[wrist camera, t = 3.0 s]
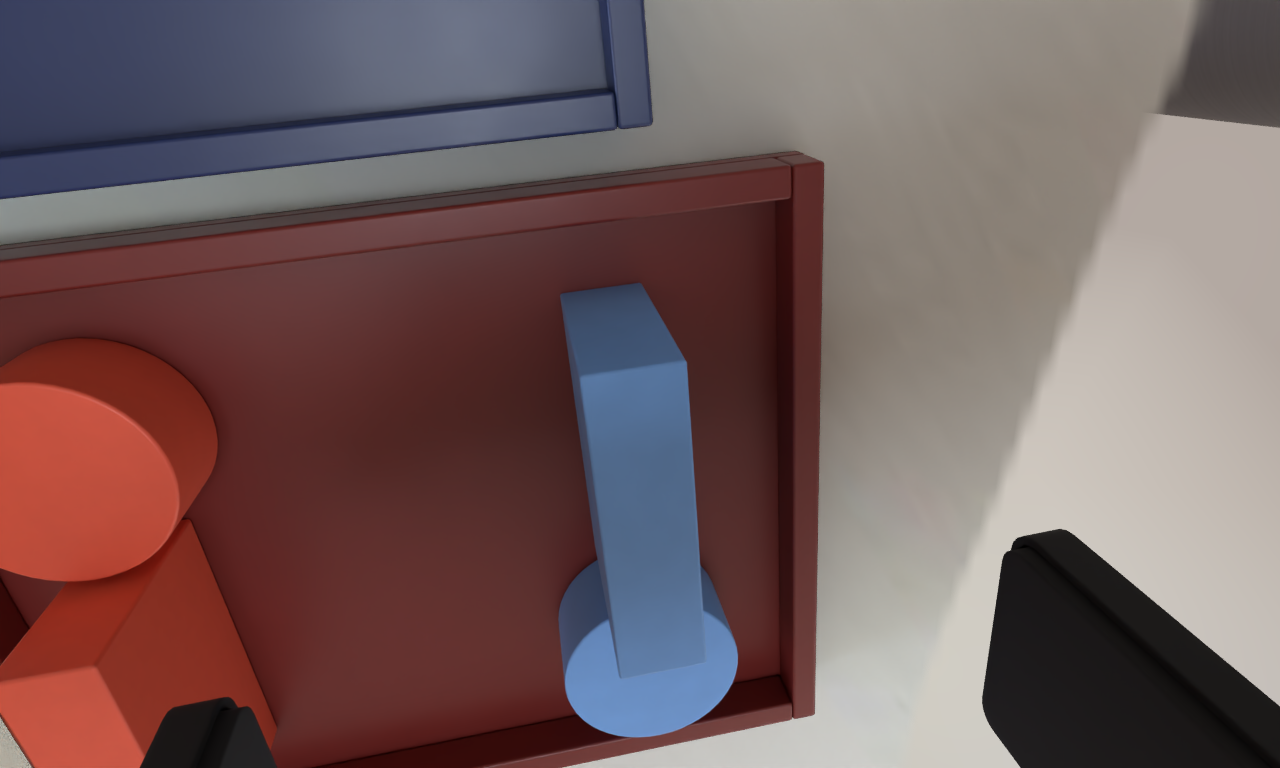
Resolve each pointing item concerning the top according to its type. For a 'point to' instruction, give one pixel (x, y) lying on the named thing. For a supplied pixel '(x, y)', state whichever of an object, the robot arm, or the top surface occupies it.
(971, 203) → the top surface
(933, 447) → the top surface
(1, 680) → the coral spoon
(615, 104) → the navy tray
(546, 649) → the maroon tray
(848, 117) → the top surface
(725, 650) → the blue spoon
